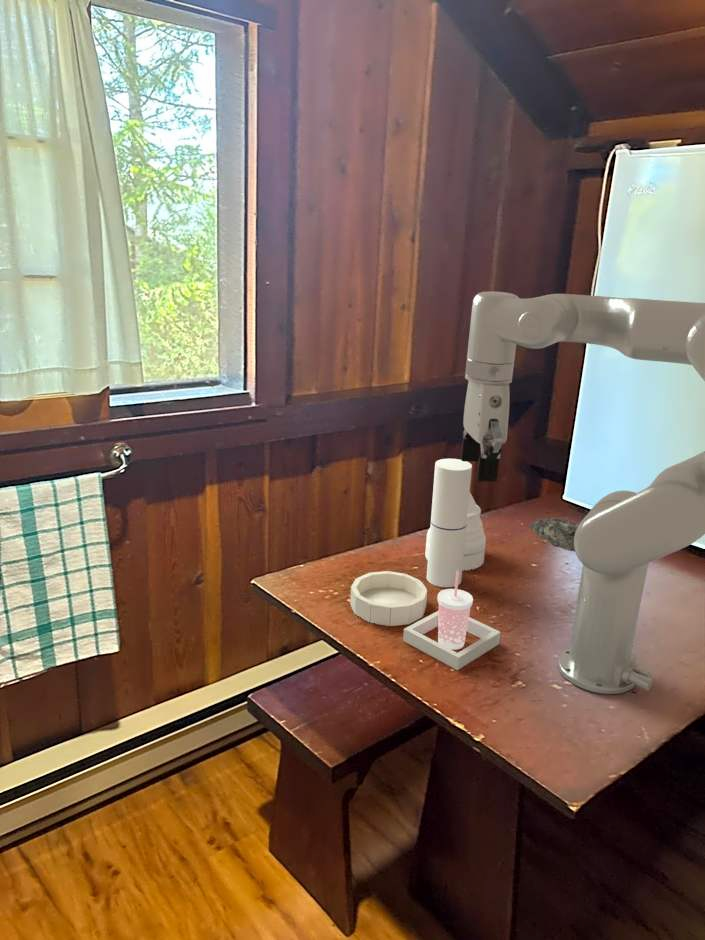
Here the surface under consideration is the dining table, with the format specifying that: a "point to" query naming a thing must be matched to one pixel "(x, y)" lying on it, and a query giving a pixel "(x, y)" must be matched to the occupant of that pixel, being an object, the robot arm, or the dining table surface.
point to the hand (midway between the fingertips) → (477, 470)
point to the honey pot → (470, 538)
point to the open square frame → (444, 654)
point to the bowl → (388, 598)
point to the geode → (556, 531)
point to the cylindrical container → (448, 521)
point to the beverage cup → (453, 616)
